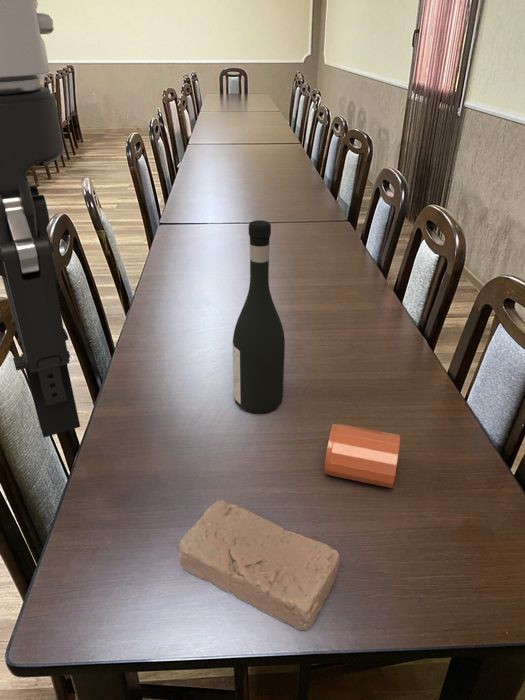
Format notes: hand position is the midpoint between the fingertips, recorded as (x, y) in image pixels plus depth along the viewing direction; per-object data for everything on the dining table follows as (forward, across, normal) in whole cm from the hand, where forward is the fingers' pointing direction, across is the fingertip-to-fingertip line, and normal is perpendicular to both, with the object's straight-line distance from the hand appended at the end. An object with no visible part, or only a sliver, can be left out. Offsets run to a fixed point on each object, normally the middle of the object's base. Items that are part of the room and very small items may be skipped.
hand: (60, 426), depth 41 cm
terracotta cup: (+23, +9, -33) cm, 41 cm away
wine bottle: (+27, +27, -32) cm, 50 cm away
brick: (+27, -2, -16) cm, 31 cm away
